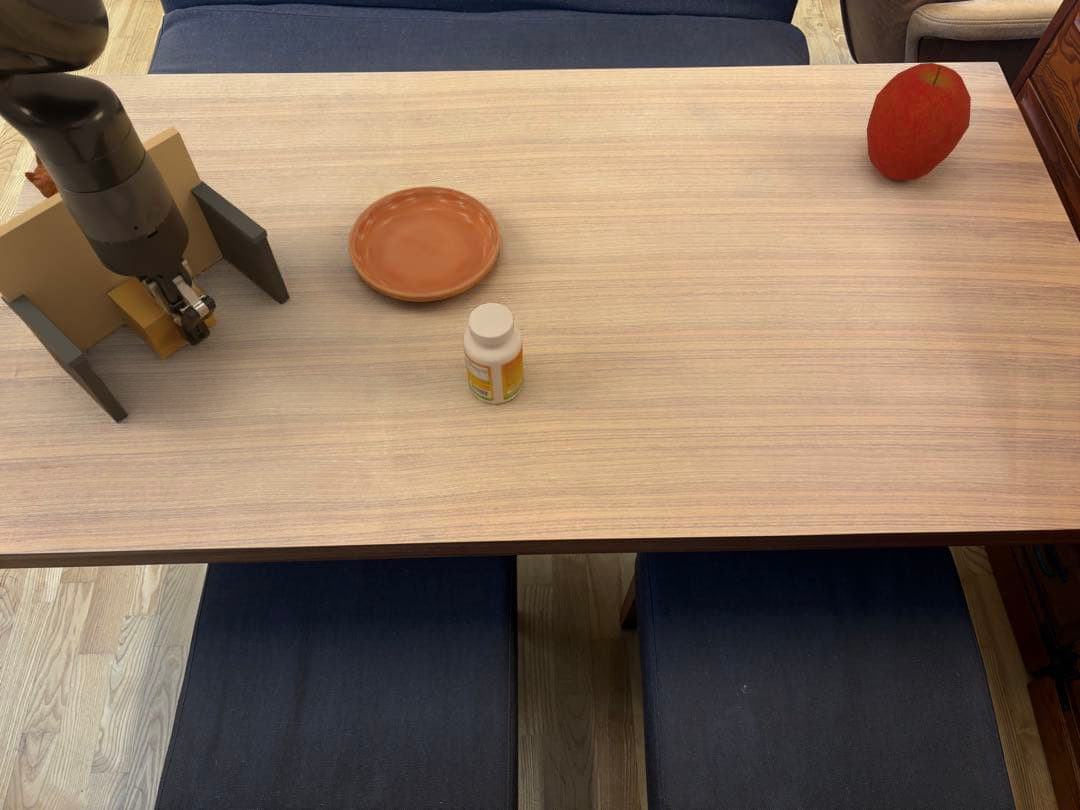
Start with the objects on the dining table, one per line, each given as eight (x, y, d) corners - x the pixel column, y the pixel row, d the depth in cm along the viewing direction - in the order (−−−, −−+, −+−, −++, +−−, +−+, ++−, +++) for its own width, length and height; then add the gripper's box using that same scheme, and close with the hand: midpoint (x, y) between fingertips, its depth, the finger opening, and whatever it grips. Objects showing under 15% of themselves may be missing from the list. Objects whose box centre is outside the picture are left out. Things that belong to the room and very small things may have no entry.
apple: (935, 209, 95) (989, 105, 84) (845, 188, 97) (886, 83, 86) (944, 151, 101) (996, 46, 89) (859, 132, 103) (899, 26, 91)
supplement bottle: (520, 357, 84) (518, 293, 76) (526, 402, 82) (524, 340, 73) (466, 362, 84) (458, 299, 76) (470, 408, 81) (462, 346, 73)
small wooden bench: (291, 297, 89) (247, 179, 76) (115, 425, 80) (30, 318, 67) (227, 245, 93) (173, 125, 80) (53, 361, 84) (-40, 248, 71)
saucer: (520, 222, 95) (519, 202, 92) (471, 329, 86) (468, 310, 84) (388, 192, 97) (384, 172, 95) (328, 293, 89) (322, 274, 87)
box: (163, 359, 85) (143, 328, 80) (127, 325, 87) (106, 293, 83) (217, 321, 87) (200, 289, 83) (180, 289, 90) (162, 256, 85)
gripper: (38, 192, 70) (127, 325, 84) (128, 272, 65) (206, 398, 79) (118, 146, 73) (190, 282, 87) (209, 219, 68) (270, 350, 82)
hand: (198, 337), depth 83 cm, fingers closed
